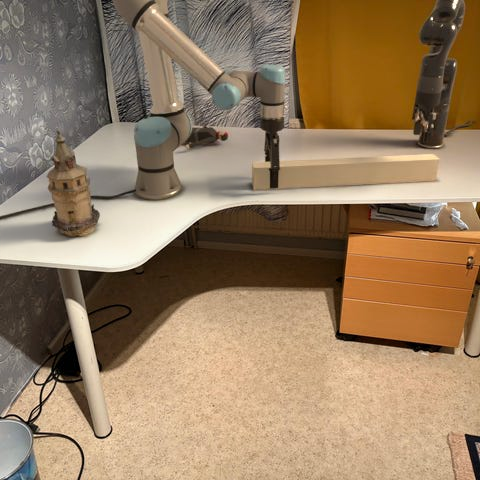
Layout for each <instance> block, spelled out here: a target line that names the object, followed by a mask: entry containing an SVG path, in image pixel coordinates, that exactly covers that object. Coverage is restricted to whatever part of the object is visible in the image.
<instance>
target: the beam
mask: <svg viewBox="0 0 480 480" xmlns="http://www.w3.org/2000/svg"><path fill="white" fill-rule="evenodd" d="M439 165H440V158H439V157H438V156H436V154H434V153H428V154H427V153H426V154H425V153H423V154H406V155H385V156H384V155H383V156H362V157H361V156H360V157H340V158H338V157H337V158H320V159H298V160H297V159H296V160H280V170H279V176H278V188H272V189H270V171H269V168H271V165H270V162H265V161H256V162H255V161H254V162H253V161H252V162H251V185H252V189H253V191H261V190H283V189H300V188H301V189H302V188H303V189H304V188H318V187H319V188H320V187H340V186H343V187H344V186H359V185H361V186H362V185H379V184H380V185H381V184H401V183H402V184H403V183H420V182H421V183H422V182H436V180H437V176H438V170H439Z"/></svg>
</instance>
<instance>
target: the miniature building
mask: <svg viewBox="0 0 480 480" xmlns="http://www.w3.org/2000/svg"><path fill="white" fill-rule="evenodd" d="M56 134H57V136H56V138H55V140H54V141H55V142H56V147H55V154H54V156H52V157H51V161H52V162H53V165H54V167H53V168H51V169H50V170H49V171H48V173H47V174H46V178H47V179H48V182H49V184H48V186H47V190H48V191H49V193H50V194H51V200H52V201H53V203H54V205H55V206H54V209H55V211H53V217H52V220H51V223H52V225H51V227H54V228H56V229H58V230H59V231H60V234H63V235H64V234H65V235H66V236H69V237H77V236H80V237H83V236H87V235H88V234H90V233H93V232H94V231H95V229H96V226H97V225H98V223H99V220H100V216H101V213H100V212H99V210H98V209H96V208H95V204H92V201H91V200H92V198H91V197H90V196H91V192H92V191H91V188H90V184H91V178H89V177H88V174H87V167H85V166H84V165H83V166H82V165H80V164H77V160H76V154H75V151H74V150H70V149H69V147H68V145H67V143H66V138H65V137H64V136H63V135H61V130H60V129H56Z"/></svg>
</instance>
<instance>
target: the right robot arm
mask: <svg viewBox="0 0 480 480" xmlns="http://www.w3.org/2000/svg"><path fill="white" fill-rule="evenodd" d="M465 12H466V4H465V0H436V2H435V5H434V8H433V9H432V11H431V13H430V15H429V16H427V18H426V19H425V21H424V22H423V24H422V25H421V27H420V29H419V33H418V39H419V42H420V44H421V45H423V46H426V47H430V48H429V53H427V54H425V55H423V56H422V59H421V63H420V69H419V70H420V71H419V76H418V80H417V85H416V91H415V99H414V103H413V111H412V117H411V120H412V121H413V124H414V125H413V132H412V134H413V135H414V136H418V141H417V144H418V146H420V147H422V148H426V149H439V148H442V147H443V146H444V139H445V137H448V136H450V134H451V133H452V132H454V131H455V130H457V129H460V128H466V127H469V126H471V125H472V123H474V120H473V119H470V120H471V121H470V120H469V122H468V123H464V124H460V125H456V126H454V127H453V128H451V129H450V130H448V131H447V132H446V128H447V123H448V122H447V120H448V116H449V111H450V105H451V100H452V94H453V90H454V89H453V88H454V83H455V79H456V75H457V71H458V61H457V59H455V58H449V57H448V56H449V53H450V51H451V48H452V46H453V45H454V42H455V41H456V38H457V35H458V33H459V31H460V30H461V28H462V27H463V22H464V18H465V14H466V13H465ZM472 120H473V121H472Z"/></svg>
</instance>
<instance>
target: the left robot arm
mask: <svg viewBox="0 0 480 480" xmlns="http://www.w3.org/2000/svg"><path fill="white" fill-rule="evenodd" d="M112 2H113V6H114V8H115V10H116V11H117V13H118V14H119V16H120V17H121V18H122V19H123V20H124V21H125V22H126V23H127V24H128V25H129V26H130V27H131V28H132V29H134V30H135V31H136V32H137V33H138V35H139V40H140V45H141V51H142V56H143V61H144V66H145V71H146V75H147V81H148V87H149V91H150V96H151V101H152V106H151V107H150V109H149V115H150V116H148V117H147V118H142V119H140V120H138V121H137V123H135V125H134V127H133V133H134V134H133V139H134V144H135V154H136V161H137V175H136V179H135V184H134V189H131V190H128V191H124V192H121V193H119V194H115V195H90V197H91V199H103V200H111V199H118V198H121V197H123V196H126V195H129V194H132V193H135V195H136V196H137V197H138V198H141V199H143V200H148V201H161V200H168V199H171V198H174V197H176V196H178V195H179V194H180V193H181V192H182V183H181V180H180V177H179V176H178V173H177V171H176V169H175V161H174V160H175V159H174V158H175V157H174V151H176V150H177V149H178V148H180V146H182V145H184V144H185V143H187V142H186V140H187V139H188V138H189V136H190V134H191V132H192V128H193V122H192V119H191V117H190V115H189V114H188V113H187V111H186V108H185V105H184V104H183V103H182V102H180V101H179V95H178V89H177V83H176V77H175V73H174V67H173V61H174V62H175V63H176V64H177V65H178V66H179V67H180V68H182V69H183V70H184V71H185V72H186V73H187V74H188V75H189V76H190V77H191V78H192V79H194V81H196V82H197V84H199V85H200V86H201V87H202V88H203V89H204V90H205V91H207V92H208V93H209V94H210V95H211V100H212V103H213V105H214V106H215V107H216V108H217V109H219V110H221V111H229V110H232V109H233V108H235V107H236V106H238V105H239V104H240V103H241V102H242V100H244V99H245V98H260V104H259V110H260V111H259V112H260V113H259V115H260V119H259V120H260V123H259V124H260V125H259V126H260V127H259V128H260V130H262V131H263V132H265V133H264V149H263V151H264V155H265V156H264V162H270V165H271V168H269V171H270V189H269V190H273V189H272V188H278V176H279V170H280V161H281V159H280V135H279V133H278V132H281V131H283V130H284V128H285V117H284V116H285V109H287V106H286V105H285V102H286V101H285V97H286V96H285V95H286V69H285V67H284V66H283V65H280V64H264V65H262V66H261V67H260V71H246V70H244V71H243V70H237V69H236V70H226V71H224V69H222V67H220V65H218V64H217V63H216V62H215V61H214V60H213V59H212V58H211V57H210V56H209V55H208V54H206V53H205V52H204V51H203V50H202V49H201V48H200V47H199V46H198V45H197V44H196V43H195V42H193V41H192V40H191V39H190V37H188V36H187V35H186V34H185V33H184V32H183V31H182V30H181V29H180V28H178V27H177V26H176V25H175V24H174V23H173V22H172V21H171V20H170V13H169V9H168V8H169V6H170V3H171V0H112ZM50 207H55V205H54V202H52V203H47V204H43V205H39V206H35V207H31V208H27V209H24V210H19V211H15V212H11V213H6V214H3V215H0V220H2V219H5V218H10V217H13V216H18V215H21V214H26V213H29V212H34V211H37V210H40V209H41V210H42V209H46V208H50Z"/></svg>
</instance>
